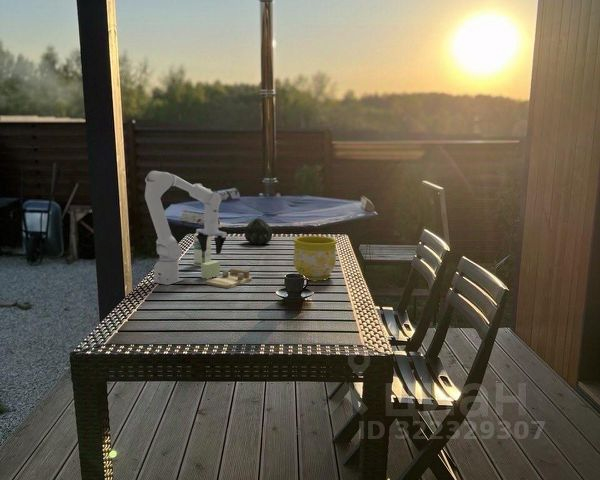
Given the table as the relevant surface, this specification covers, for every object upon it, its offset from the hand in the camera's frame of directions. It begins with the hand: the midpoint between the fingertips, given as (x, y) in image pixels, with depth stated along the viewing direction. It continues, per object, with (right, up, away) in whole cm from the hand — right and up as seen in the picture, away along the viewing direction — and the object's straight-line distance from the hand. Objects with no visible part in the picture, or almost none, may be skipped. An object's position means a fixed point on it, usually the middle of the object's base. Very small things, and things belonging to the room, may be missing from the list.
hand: (211, 252), depth 247 cm
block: (0, -10, -2) cm, 10 cm away
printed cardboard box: (-7, -6, +18) cm, 20 cm away
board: (+9, -12, -10) cm, 18 cm away
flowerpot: (+43, -11, +1) cm, 45 cm away
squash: (+15, +3, +73) cm, 75 cm away
